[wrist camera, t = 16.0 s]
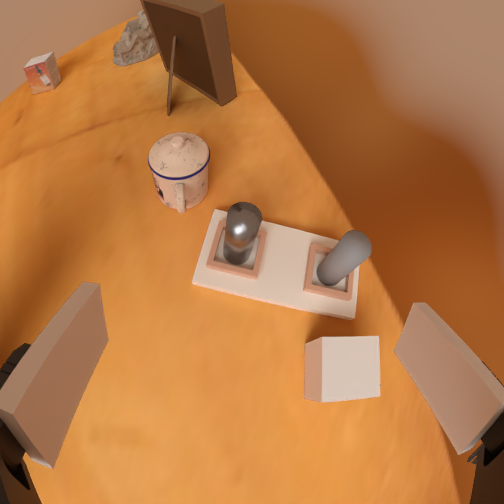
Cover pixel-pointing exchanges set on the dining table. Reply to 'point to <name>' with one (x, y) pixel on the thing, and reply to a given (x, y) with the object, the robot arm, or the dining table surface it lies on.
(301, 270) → the pegboard
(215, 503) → the dining table surface
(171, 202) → the teacup with lid
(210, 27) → the photo frame
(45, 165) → the dining table surface
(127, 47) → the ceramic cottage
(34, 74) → the small box
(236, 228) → the peg
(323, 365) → the block
